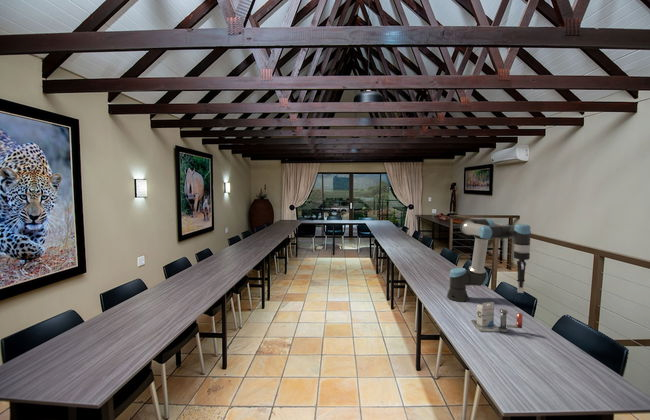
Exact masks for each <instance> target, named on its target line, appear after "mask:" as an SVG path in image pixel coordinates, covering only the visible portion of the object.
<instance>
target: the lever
mask: <svg viewBox="0 0 650 420" xmlns="http://www.w3.org/2000/svg"><path fill="white" fill-rule="evenodd" d="M506 328H509V329H522V328H523V314H522V313H520V312H517V313H516V324H506Z"/></svg>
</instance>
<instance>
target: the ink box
mask: <svg viewBox="0 0 650 420" xmlns="http://www.w3.org/2000/svg"><path fill="white" fill-rule="evenodd" d="M494 305H495V303H494V301H491V302H482V304H477V305H476V320H477V324H479V325H480V326H482V327H483V326H490V325H494V324H495V323H494V320H495V319H494V317H495V306H494Z"/></svg>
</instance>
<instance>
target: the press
mask: <svg viewBox="0 0 650 420" xmlns="http://www.w3.org/2000/svg"><path fill="white" fill-rule="evenodd" d="M499 312H500V322H499V323H500V325H499V326H497V325H496V324H495V323H494V325H490V326H483V327H482V326H480V325H479V324H477V319H472V320H470V323H471V324H472V325H473V326H474V327H475V329H477V330H478V332H486V333H487V332H488V333H489V332H494V333H496V332H499V333H502V334H508V333H509V329H508V327H507V315H508V313H509V312H508V310H507V309H504V308H503V309H499Z"/></svg>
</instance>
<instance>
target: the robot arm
mask: <svg viewBox="0 0 650 420" xmlns="http://www.w3.org/2000/svg"><path fill="white" fill-rule="evenodd" d="M459 227H460V228H459V229H460V231H461V233H463V235H464V234H465V235H467V236H473V237H474V238H475V239H474V244H473V245H474V246H473V252H472V253H473V254H472V260H471V265H470V266H468V270H467V269H466V268H464V267H454V268H452V269H450V271H449V288H448V291H447V293H446V297H447V299H449V300H450V301H453V302H461V303H464V302H467V301H469V294H468V292H467V286H477V287H480V286H481V287H482V286H486V285H487V283H488V281H489V273H488V271H487V269H485V265H486V257H487V252H488V251H487V250H488V244H489V240H491V239H502V240H503V239H506V240H507V239H511V240H512V239H513V240H514V241H513V245H512V247H513V258H514V259H516V260H517V261H516V264H517V268H516V269H517V280H516V282H517V293H520V294H524V289H525V288H524V284H525V280H526V279H525V274H526V265H527V262H526V261H527V260H530V258H531V257H530V256H531V255H530V254H531V253H530V252H531V233H532V231H531V225H529V224H525V223H524V224H522V223H517V224H515V225H512V224H511V225H510V224H509V225H508V224H507V225H495V222H494V220H492V219H490V218H479V219H478V218H475V219H474V218H469V219H466V220H463V222H461V224H460V226H459ZM525 260H526V261H525Z"/></svg>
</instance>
